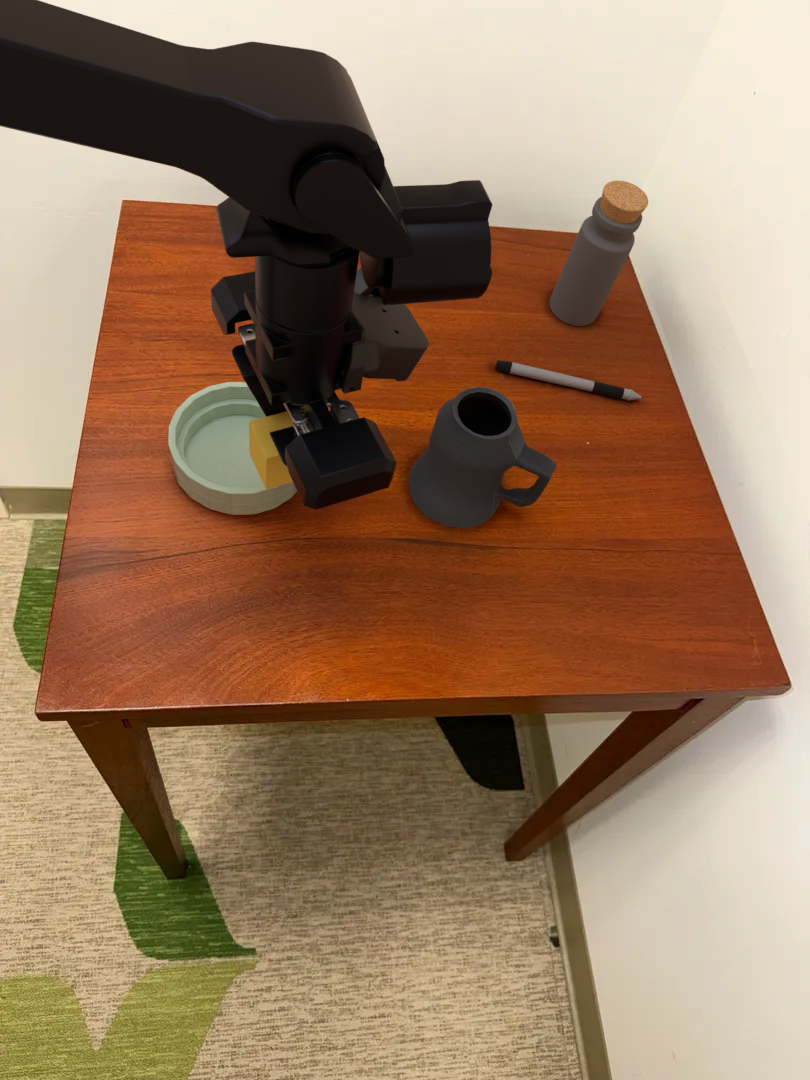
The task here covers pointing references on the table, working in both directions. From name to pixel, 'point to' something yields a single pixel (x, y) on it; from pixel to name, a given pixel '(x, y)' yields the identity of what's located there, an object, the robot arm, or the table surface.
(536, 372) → the pen
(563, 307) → the bottle
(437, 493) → the mug
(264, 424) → the sponge
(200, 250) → the table surface
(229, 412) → the bowl
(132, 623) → the table surface
